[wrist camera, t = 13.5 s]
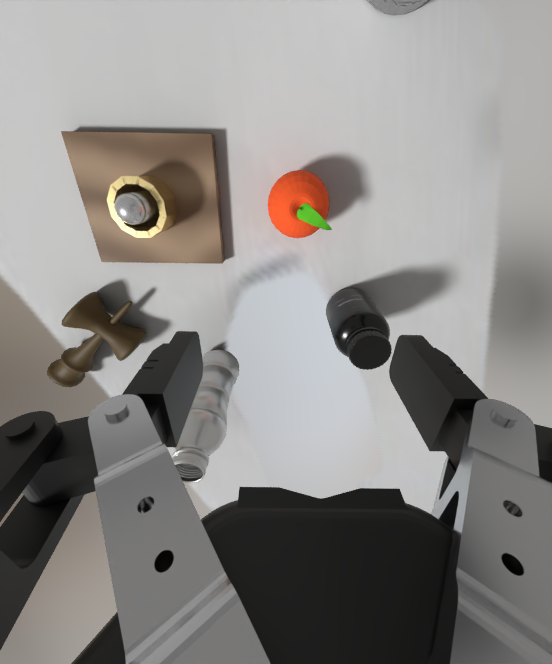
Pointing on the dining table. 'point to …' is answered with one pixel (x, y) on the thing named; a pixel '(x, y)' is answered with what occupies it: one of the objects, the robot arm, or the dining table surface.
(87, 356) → the kendama
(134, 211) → the steel post
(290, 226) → the clementine
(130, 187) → the brass ring
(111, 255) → the walnut base plate
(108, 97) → the dining table surface
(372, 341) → the supplement bottle
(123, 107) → the dining table surface
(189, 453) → the plastic bottle
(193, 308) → the dining table surface
